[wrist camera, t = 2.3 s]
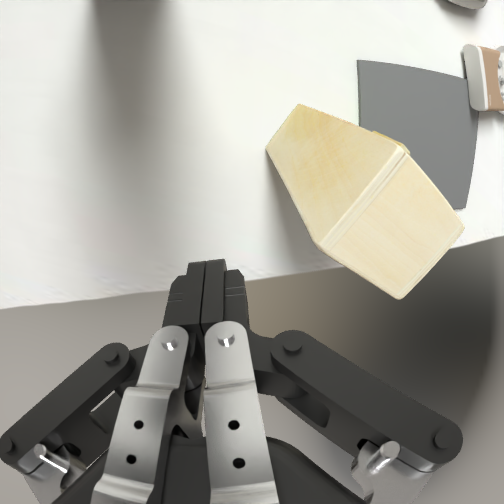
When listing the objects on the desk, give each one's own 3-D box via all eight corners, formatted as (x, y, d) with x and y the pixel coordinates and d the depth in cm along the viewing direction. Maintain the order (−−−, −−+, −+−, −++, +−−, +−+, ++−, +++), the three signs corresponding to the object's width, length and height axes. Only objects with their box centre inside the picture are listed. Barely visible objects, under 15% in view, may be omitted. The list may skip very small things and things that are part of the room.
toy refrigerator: (354, 138, 31) (474, 221, 14) (317, 184, 34) (398, 304, 17) (302, 97, 28) (406, 131, 11) (264, 147, 32) (309, 249, 14)
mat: (356, 60, 26) (358, 59, 25) (476, 82, 26) (479, 83, 25) (355, 214, 37) (357, 216, 36) (463, 206, 37) (465, 208, 36)
